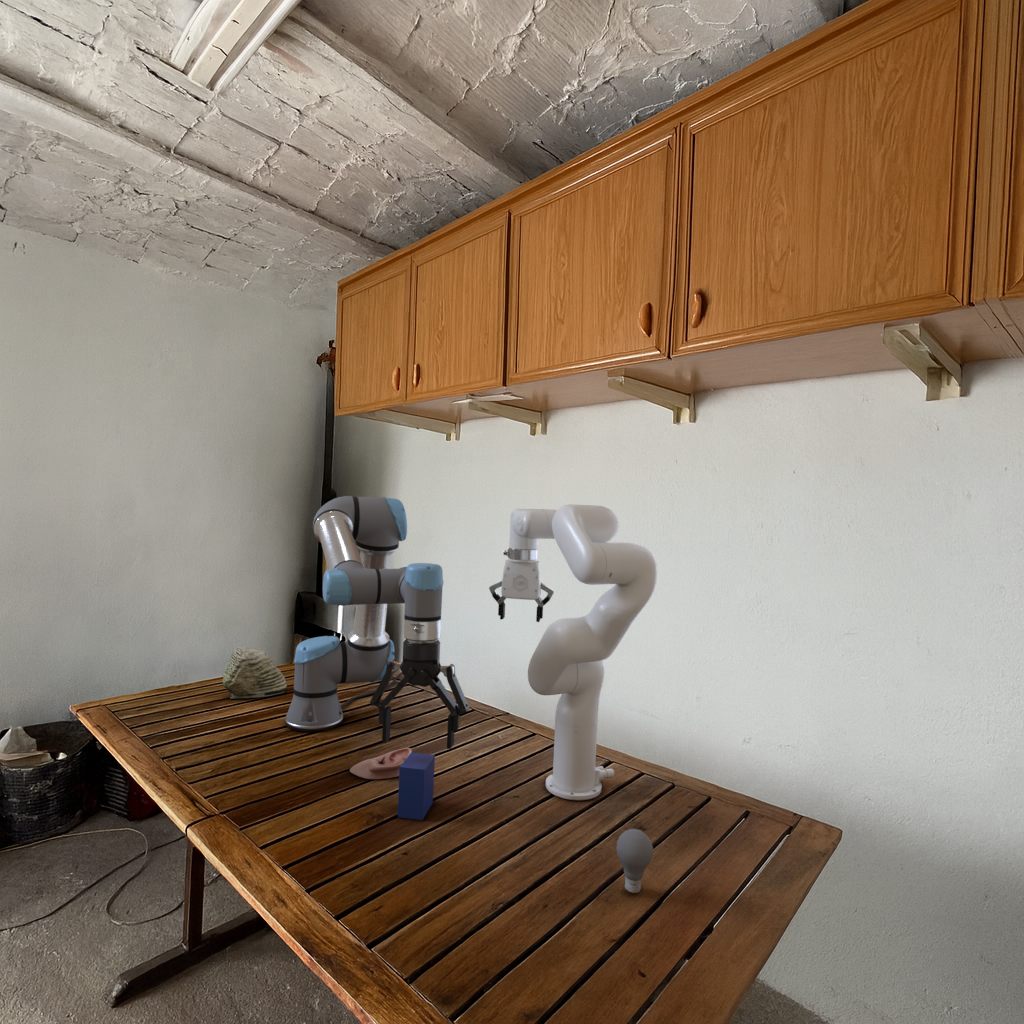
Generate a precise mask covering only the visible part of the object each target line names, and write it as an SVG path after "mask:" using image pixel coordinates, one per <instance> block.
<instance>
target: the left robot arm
mask: <svg viewBox="0 0 1024 1024" xmlns="http://www.w3.org/2000/svg"><path fill="white" fill-rule="evenodd" d="M312 530H313V534H314V536H315V538H316V540H317V541H318V542H319V543H320V544H321V548H322V551H323V554H324V557H325V562H326V565H327V569H326V570H325V572H324V574H323V578H322V598H323V601H324V603H325V604H327V605H328V606H329V605H330V606H341V607H342V606H343V607H345V606H355V611H354V612H355V614H354V624H353V630H350V632H348V633H347V641H341V640H340V638H339V637H338V636H335V635H324V636H323V635H322V636H316V637H311V638H308V639H305V640H303V641H301V642H299V643H298V644H297V645H296V648H295V655H294V660H293V663H294V674H293V675H294V680H293V695H292V696H293V697H292V699H291V702H290V704H289V708H288V711H287V713H286V715H285V726H286V728H287V729H289V730H291V731H294V732H295V731H296V732H301V733H316V732H325V731H329V730H332V729H335V728H337V727H339V726H340V725H342V723H343V722H344V714H343V709H342V708H345V707H346V706H347V705H348V704H349V703H350V702H352V701H354V700H356V699H359V698H363V697H367V696H370V695H372V697H371V699H370V700H369V704H370V706H374V707H376V708H378V720H377V721H378V725H382V730H381V731H382V734H381V742H382V743H387V741H388V740H390V739H391V729H392V728H391V726H392V706H391V705H390V706H388V705H389V704H390V703H391V702H392V701H393V700H394V699H395V697H396V696H397V695H398V694H399V693H400V692H401V691H402V690H403V689H404V687H406V685H407V684H410V685H411V686H412V687H416V686H420V687H423V688H426V687H428V686H429V687H430V689H432V690H433V691H434V692H435V694H436V695H437V696H438V698H439V699H440V700H441V702H442V703H443V705H444V706H445V707H446V708H447V710H448V711H449V714H448V716H447V729H446V730H447V731H446V732H447V733H446V736H447V737H446V749H447V750H451V749H452V747H453V746H454V745H455V732H458V731H459V728H460V717H461V715H465V714H466V713H467V712H468V711H469V709H470V705H469V703H468V700H467V698H466V696H465V694H464V692H463V689H462V686H461V685H460V682H459V679H458V677H457V675H456V666H455V664H453V663H450V664H448V665H442V664H441V663H440V662H441V642H440V640H439V639H440V638H441V636H442V635H441V634H442V608H443V607H442V605H443V587H444V575H443V571H444V570H443V567H442V566H441V565H440V564H437V563H432V562H431V563H429V562H417V563H416V562H414V563H410V564H408V565H407V566H403V567H402V566H401V567H399V568H392V561H393V560H392V559H393V553H394V552H396V551H397V550H398V549H399V545H400V542H403V541H405V540H406V539H407V535H408V518H407V514H406V509H405V505H404V504H403V502H402V501H401V500H400V499H397V498H391V497H386V496H352V495H344V496H338V497H335V498H333V499H331V500H329V501H327V502H326V503H324V504H323V505H321V507H320V508H319V509H318V511H317V512H316V513H315V516H314V517H313V521H312ZM359 551H360V552H359ZM389 604H390V605H393V604H396V605H399V604H404V615H403V616H404V617H403V638H404V641H403V642H402V660H401V661H402V662H400V661H397V660H396V659H395V645H394V644H395V643H394V642H393V640H392V639H390V635H389V634H388V632H386V621H387V611H388V605H389ZM399 670H400V673H399V674H398V675H396V676H395V677H394V675H395V673H397V672H398V671H399ZM441 673H442V674H443V676H444V677H445V678H446V681H447V684H448V685H449V688H450V690H451V692H452V695H453V696H452V695H451V694H450V692H449V691H448V690H447V688H446V687H445V686H444V684H443V683H442V682H443V681H442V680H441V679H440V678H439V675H440V674H441ZM402 675H403V677H402V678H401V680H400V681H398V683H397V684H396V685H395V686H394V687H393V688H392V689H391V690H390V692H389V693H388V694H387V695H386V696H385V697H384V698H383V699H382V696H383V695H384V693H385V692H386V689H388V688H390V687H391V686H392V685H393V684H395V683H396V681H397V679H399V678H400V677H401V676H402ZM393 677H394V678H393ZM392 678H393V680H392ZM391 680H392V681H391ZM379 681H380V683H379V684H378V686H377V688H376V690H372V691H369V692H366V693H363V694H362V693H361V694H358V695H356V696H355V695H354V696H353V697H350V698H349V699H347V700H346V701H345V702H344V703H342V704H341V702H340V699H339V695H338V685H345V684H358V683H359V684H360V683H374V682H379ZM453 697H454V698H453Z"/></svg>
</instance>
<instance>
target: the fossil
mask: <svg viewBox="0 0 1024 1024" xmlns="http://www.w3.org/2000/svg"><path fill="white" fill-rule="evenodd" d="M222 676H223V677H222V685H223V687H224V688H225V690H226V691H228V693H229V698H230V699H250V698H264V697H271V696H275V695H281V694H284V693H285V691H286V689H287V687H288V686H287V680H286V678H285V676H284V674H283V673H282V672H281V669H279V668H278V667H277V665H276V663H275V662H274V660H273V659H272V658H271V657H270V656H269V655H268V654H267V653H266V652H265V650H264V649H263V648H260V647H258V648H251V647H247V646H246V647H245V646H238V647H237V648H236V649H235V650H233V651H232V653H231V656H230V657H229V659H228V660H227V663H226V666H225V668H224V671H223V675H222Z"/></svg>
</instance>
